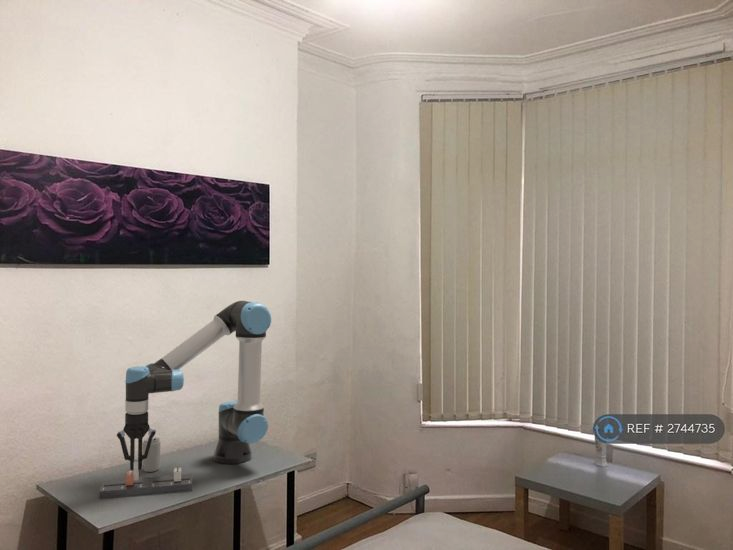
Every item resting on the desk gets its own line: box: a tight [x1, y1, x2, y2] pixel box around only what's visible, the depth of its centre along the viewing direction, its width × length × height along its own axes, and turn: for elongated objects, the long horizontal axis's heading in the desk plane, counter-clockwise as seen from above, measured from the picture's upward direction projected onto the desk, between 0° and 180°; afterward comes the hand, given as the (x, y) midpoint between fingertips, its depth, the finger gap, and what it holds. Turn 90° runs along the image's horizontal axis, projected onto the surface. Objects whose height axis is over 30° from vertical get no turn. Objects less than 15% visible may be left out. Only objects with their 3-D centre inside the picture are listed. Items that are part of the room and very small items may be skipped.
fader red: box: [125, 470, 134, 485], centre depth 210 cm, size 2×4×4 cm, turn 16°
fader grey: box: [173, 466, 182, 482], centre depth 214 cm, size 2×4×4 cm, turn 16°
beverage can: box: [142, 436, 161, 473], centre depth 231 cm, size 6×6×12 cm
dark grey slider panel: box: [98, 473, 193, 500], centre depth 211 cm, size 30×10×3 cm, turn 106°
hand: (136, 478), depth 210 cm, fingers closed
